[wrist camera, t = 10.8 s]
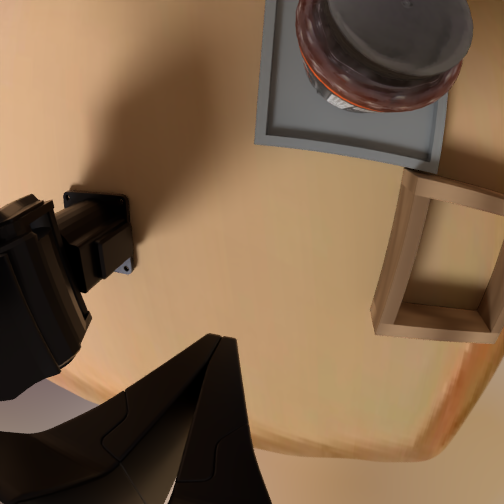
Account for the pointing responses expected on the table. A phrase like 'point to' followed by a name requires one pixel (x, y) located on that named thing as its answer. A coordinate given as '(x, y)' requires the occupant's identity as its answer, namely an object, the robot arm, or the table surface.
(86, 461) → the robot arm
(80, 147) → the table surface
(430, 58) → the supplement bottle
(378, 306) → the walnut collar
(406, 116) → the slate tray
